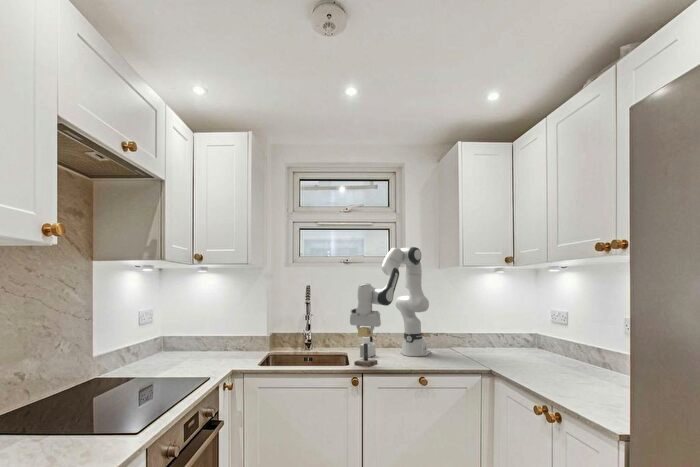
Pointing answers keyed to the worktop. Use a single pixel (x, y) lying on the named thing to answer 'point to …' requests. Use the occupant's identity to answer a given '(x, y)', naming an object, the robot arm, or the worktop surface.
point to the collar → (364, 332)
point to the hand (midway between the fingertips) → (365, 333)
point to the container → (370, 346)
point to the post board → (365, 358)
